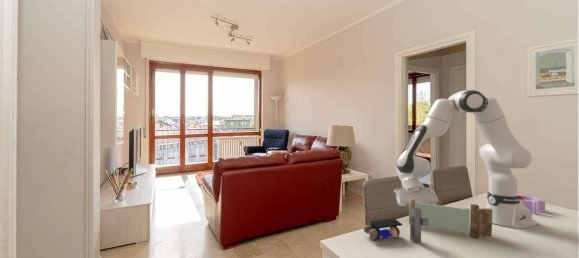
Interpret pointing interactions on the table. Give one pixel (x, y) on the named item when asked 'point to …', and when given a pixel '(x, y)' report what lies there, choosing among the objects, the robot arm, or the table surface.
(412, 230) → the latch post
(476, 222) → the wooden hinge block
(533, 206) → the clip
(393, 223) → the figurine character
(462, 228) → the gate
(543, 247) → the table surface
